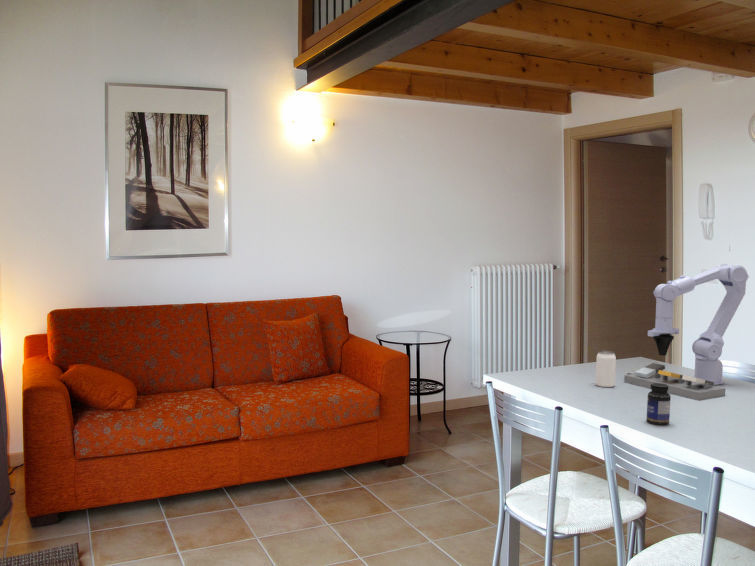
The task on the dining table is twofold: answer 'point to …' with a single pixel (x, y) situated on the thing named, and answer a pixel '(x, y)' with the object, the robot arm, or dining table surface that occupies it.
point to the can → (605, 369)
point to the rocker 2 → (670, 374)
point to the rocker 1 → (649, 370)
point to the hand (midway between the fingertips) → (662, 355)
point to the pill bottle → (658, 404)
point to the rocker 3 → (697, 380)
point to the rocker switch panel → (678, 386)
